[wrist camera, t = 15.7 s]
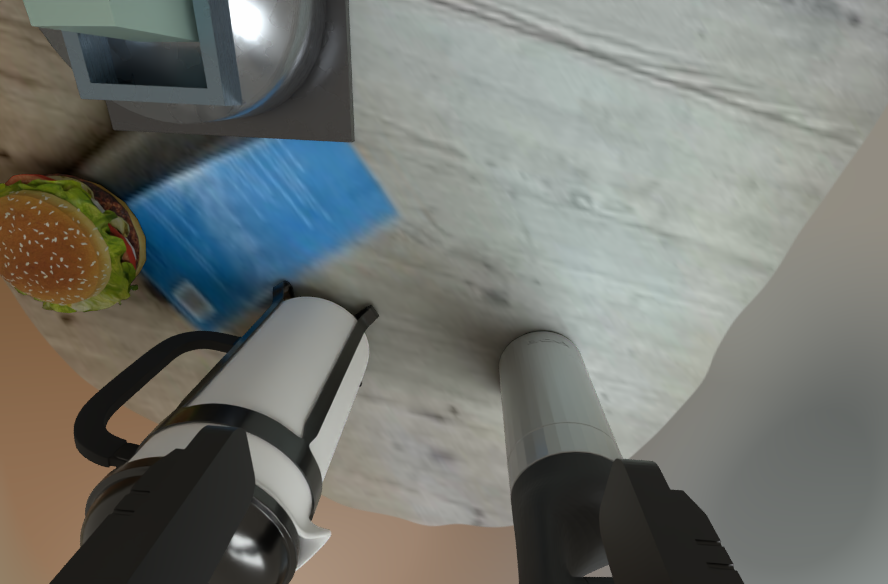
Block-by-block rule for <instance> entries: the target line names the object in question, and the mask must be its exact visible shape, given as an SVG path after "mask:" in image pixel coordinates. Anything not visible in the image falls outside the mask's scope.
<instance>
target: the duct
mask: <svg viewBox="0 0 888 584" xmlns="http://www.w3.org/2000/svg"><path fill="white" fill-rule="evenodd" d="M192 1H193V7H194V13H195V18H196V24H197V30H198V36H199V42H137V41H130V40H123V39H116V38H110V37H103V36H96V35H89V34H83V33H76V32H69V31H62V30H55V29H49V28H42V27H39V28H40V30H41V31H42V33H43V34H44V36H45V37H46V38H47V40H48V41H49V43H50V44H51V46H52V47H53V48H54V49H55V50H56V51H57V53H58V54H59V55H60V56H61V57H62V59H63V60H64V61H65V62H66V63H67V64H68V65H69V66H70V67H71V68H72V69H73V73H74V76H75V80H76V83H77V87H78V90H79V94H80V97H81V99H97V100H106V104H107V107H108V111H109V115H110V119H111V122H112V126H113V130H124V131H144V132H163V133H182V134H201V135H220V136H239V137H258V138H277V139H296V140H316V141H335V142H354V141H355V140H354V116H353V93H352V70H351V46H350V23H349V0H192Z"/></svg>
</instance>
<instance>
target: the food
mask: <svg viewBox="0 0 888 584" xmlns="http://www.w3.org/2000/svg"><path fill="white" fill-rule="evenodd" d="M145 261H146V237H145V235H144V233H143V231H142V228H141V226H140V224H139V222H138V219H137V218H136V217H135V215H134V214H133V213H132V211H131V210H130V209H129V207H128V206H127V205H126V204H125V202H123V201H122V200H121V199H119V198H118V197H116V196H115V195H114V194H112V193H111V192H110V191H108V190H107V189H105V188H104V187H103V186H101V185H99V184H96V183H93V182H90V181H86V180H83V179H81V178H79V177H76V176H71V175H65V174H59V173H58V174H49V175H37V174H21V175H15V176H12V177H11V178H10V179H9V180H8V181H7V182H6V183H5V184H4V183H2V184H0V275H1V276H2V277H3V278H4V279H5V280H7V281H8V282H9V283H10V284H12V286H13V287H14V288H15V289H16V290H17V291H18V292H19V293H21V294H23V295H30V296H32V297H34V299H35V300H38V301H42V302H43V301H44V302H43V308H44V309H46V310H54V311H57V312H64V313H72V312H77V311H83V312H87V311H97V310H101V309H106V308H109V307H111V306H112V305H114V304H115V303H117V302H119V304H120V305H121V303H120V302H121V300H125V299H127V298H129V297H130V293H129V292H130V290H131V289H132V290H135V291H136V290H138V289H139V288H138V286H137V285H132V286H130V284H131V283H132V281H133V280H134V279H135V277H136V276H137V275H138V274H139V272H140V271H141V269H142V267H143V265H144V263H145Z"/></svg>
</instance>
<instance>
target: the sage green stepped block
mask: <svg viewBox="0 0 888 584" xmlns="http://www.w3.org/2000/svg"><path fill="white" fill-rule="evenodd" d="M23 2H24V5H25V8H26V11H27V14H28V17H29V20H30V23H31V26H35V27H42V28H49V29H55V30H62V31H69V32H76V33H83V34H89V35H96V36H103V37H110V38H116V39H123V40H130V41H137V42H199V36H198V30H197V24H196V18H195V13H194V7H193V1H192V0H23Z"/></svg>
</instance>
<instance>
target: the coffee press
mask: <svg viewBox="0 0 888 584" xmlns="http://www.w3.org/2000/svg"><path fill="white" fill-rule="evenodd" d="M283 299H284V301H283V302H282V300H283ZM378 317H379V315H378V313H377V312H376V310H375V309H374V307H373V306H372V305H369V306H367V307H365V308H364V309H363V310H361V311H360V312H359V313H358V314H356V315H355V316H353V315H352V314H350V313H349V312H348V311H347V310H345V309H344V308H343V307H341V306H339V305H337V304H335V303H333V302H331V301H328V300H325V299H321V298H316V297H297V298H295V297H294V292H293V288H292V286H291V284H290V283H289V282H287V281H283V282H281V283H280V284H278V285H276V286H274V287H273V303H272V305H271V306H270V307H269V309H268V310H267V311H266V312H265V313H264V314H263V315H262V316H261V317H260V318H259V319H258V320H257V321H256V322H255V324H254V325H253V326H252V327H251V328H250V329H249V330H248V331H247V332H246V333H245V335H244V336H243V337H237V336H233V335H229V334H224V333H219V332H212V331H192V332H186V333H182V334H178V335H175V336H172V337H170V338H168V339H166V340H164V341H162V342H161V343H159V344H158V345H156V346H155V347H153V348H152V349H151V350H149V351H148V352H147V353H145V354H144V355H143V356H141V357H140V358H139V359H138V360H136V361H135V362H134V363H133V364H131V365H130V366H129V367H128V368H126V369H125V370H124V371H123V372H121V373H120V374H119V375H118V376H116V377H115V378H114V379H113V380H112V381H110V382H109V383H108V384H107V385H106V386H104V387H103V388H102V389H101V390H100V391H99V392H98V393H96V394H95V395H94V396H93V397H92V398H91V399H90V400H89V401H88V402H87V403H86V404H85V405H84V406H83V408H82V409H81V411H80V412H79V414H78V416H77V418H76V421H75V424H74V439H75V444H76V448H77V449H78V451H79V452H80V453H81V454H82V455H83V456H84V457H85V458H87V459H88V460H90V461H92V462H94V463H96V464H98V465H101V466H104V467H109V466H116V467H117V468H116V469H114V470H113V471H111V472H110V473H109V474H108V475H107V476H105V478H104V479H103V480H102V481H101V482H100V483H99V484H98V485H97V486H96V487H95V488H94V489H93V491H92V493H91V494H90V496H89V498H88V500H87V504H86V509H85V519H84V522H83V525H82V529H81V535H80V546H82V545H83V544H84V543H85V542H86V540H87V539H88V538H89V537H90V536H91V535H92V533H93V532H94V531H95V530H96V529H97V528H98V526H99V525H100V524H101V523H102V522H103V521H104V520H105V518H106V517H107V516H108V515H109V514H112V513H113V511H114V508H115V507H116V506H117V504H118V503H119V502H120V501H121V500H122V499H123V497H124V496H125V495H126V494H129V493H130V489H131V488H132V487H133V486H134V485H135V484H136V482H137V481H138V480H139V479H140V478H141V477H142V475H143V474H144V473H145V472H146V471H147V470H148V468H149V467H150V466H152V465H153V464H155V463H156V462H157V461H159V460H160V459H162V458H163V457H164V456H166V455H167V454H169V453H170V452H171V451H173V450H174V449H176V448H178V449H185V448H186V447H187V446H188V444H189V443H190V442H191V441H192V439H193V438H194V437H195V436H196V434H197V433H198V432H199V431H200V430H201V429H202V428H203V427H205V426H207V425H213V426H225V427H238V428H243V429H244V430H245V431H246V434H247V439H248V444H249V449H250V454H251V459H252V464H253V469H254V474H255V489H254V494H253V498H252V501H251V503H250V506H249V508H248V510H247V512H246V514H245V515H244V517H243V519H242V521H241V523H240V525H239V527H238V528H237V530H236V532H235V534H234V536H233V538H232V540H231V541H230V543H229V545H228V547H227V549H226V551H225V553H224V554H223V556H222V558H221V560H220V562H219V564H218V566H217V567H216V569H215V571H214V573H213V575H212V577H211V579H210V580H209V582H208V584H289V582H290V581H291V579H292V578H293V575H294V573H295V571H296V570H297V569H299V568H300V567H301V566H302V565H303V564H305V563H306V562H307V561H308V560H309V559H310V558H311V557H312V556H313V555H314V554H315V553H316V552H317V551H318V550H319V549H320V548H321V547H322V546H323V545H324V544H325V543H326V542H327V540H328V539H329V538H330V536H331V531H330V530H329V529H324V528H321V527H318V526H316V525H315V524H313V523H312V522H311V520H312V518H313V515H314V513H315V510H316V507H317V505H318V502H319V499H320V496H321V492H322V482H323V480H324V477H325V475H326V472H327V469H328V467H329V464H330V462H331V459H332V457H333V454H334V451H335V449H336V446H337V444H338V441H339V438H340V436H341V433H342V431H343V428H344V425H345V423H346V420H347V418H348V415H349V412H350V410H351V407H352V405H353V402H354V399H355V397H356V394H357V391H358V389H359V387H360V386H361V385H362V378H363V376H364V373H365V370H366V367H367V364H368V360H369V344H368V340H367V337H366V334H365V330H366V329H367V328H368V327H369V326H370V325H371V324H372V323H373V322H374V321H375V320H376V319H377V318H378ZM195 349H212V350H217V351H222V352H226V353H227V354H226V355H225V356H224V357H223V358H222V359H221V360H220V361H219V362H218V363H217V364H216V365H215V367H214V368H213V369H212V370H211V371H210V372H209V373H208V374H207V375H206V376H205V377H204V378H203V379H202V380H201V381H200V382H199V384H198V385H197V386H196V387H195V388H194V389H193V390H192V391H191V392H190V393H189V394H188V395H187V396H186V397H185V398H184V400H183V401H182V402H181V403H180V405H179V406H178V407H177V409H176V410H175V411H173V412H172V413H171V414H170V415H169V416H167V417H166V418H165V419H164V420H163V421H162V422H161V423H160V424H159V425H158V426H157V427H156V428H155V429H154V430H153V431H152V432H151V433H150V434H149V435H148V436H147V437H146V438H145V439H144V441H143V442H142V443H141V444H140V445H137V444H132V443H127V442H126V440H124V439H121V438H119V437H116V436H114V435H112V434H111V433H109V432H108V431H107V429H106V425H107V422H108V420H109V419H110V417H111V416H112V415H113V414H114V413H115V412H116V411H117V410H118V409H119V408H120V407H121V406H122V405H123V404H124V403H125V402H126V401H128V400H129V399H130V398H131V397H132V396H133V395H134V394H135V393H136V392H138V391H139V390H140V389H141V388H142V387H143V386H144V385H145V384H147V383H148V382H149V381H150V380H151V379H152V378H153V377H154V376H155V375H157V374H158V373H159V372H160V371H161V370H162V369H163V368H164V367H166V366H167V365H168V364H169V363H170V362H171V361H172V360H174V359H175V358H176V357H178V356H179V355H181V354H183V353H185V352H188V351H191V350H195Z"/></svg>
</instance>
